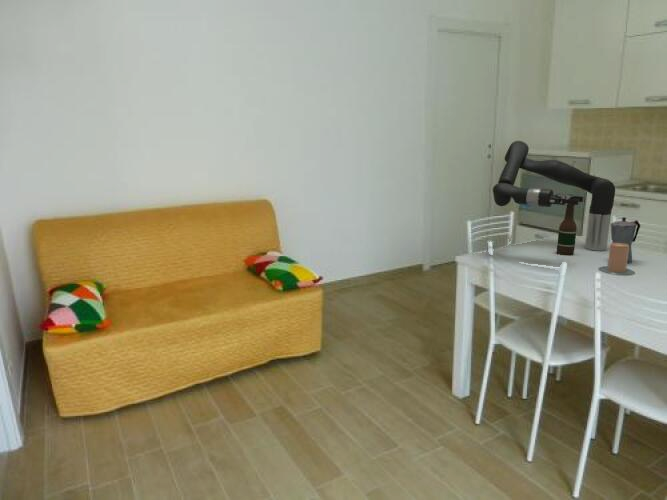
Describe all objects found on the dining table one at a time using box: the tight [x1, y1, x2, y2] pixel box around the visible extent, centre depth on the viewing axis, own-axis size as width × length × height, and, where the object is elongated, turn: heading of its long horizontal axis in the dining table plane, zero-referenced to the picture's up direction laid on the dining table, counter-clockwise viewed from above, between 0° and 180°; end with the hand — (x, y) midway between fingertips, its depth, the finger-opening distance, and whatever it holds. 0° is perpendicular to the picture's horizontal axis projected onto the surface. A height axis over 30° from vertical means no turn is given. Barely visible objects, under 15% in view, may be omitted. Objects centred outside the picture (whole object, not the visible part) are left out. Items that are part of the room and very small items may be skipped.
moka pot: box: [610, 216, 641, 265], centre depth 211 cm, size 10×15×20 cm, turn 111°
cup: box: [607, 242, 629, 273], centre depth 198 cm, size 6×6×11 cm
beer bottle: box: [556, 204, 578, 257], centre depth 225 cm, size 8×8×24 cm
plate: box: [598, 265, 636, 277], centre depth 200 cm, size 13×13×1 cm
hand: (580, 200), depth 202 cm, fingers open, 8 cm apart
